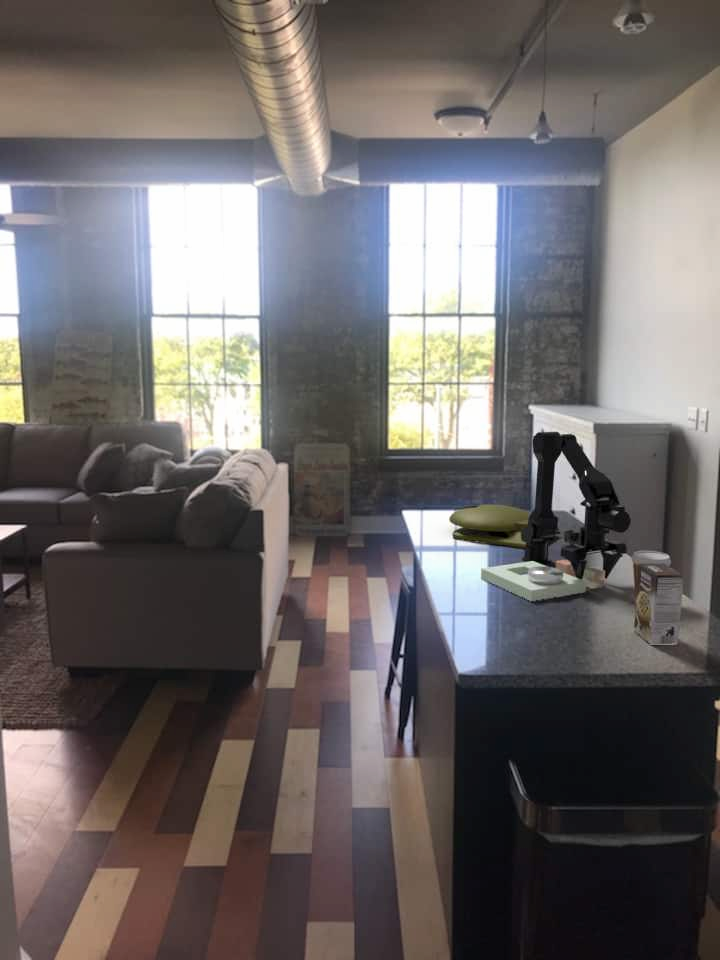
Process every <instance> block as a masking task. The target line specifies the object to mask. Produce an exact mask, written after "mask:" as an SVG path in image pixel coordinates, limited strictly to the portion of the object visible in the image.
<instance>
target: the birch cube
mask: <svg viewBox="0 0 720 960" xmlns="http://www.w3.org/2000/svg"><path fill="white" fill-rule="evenodd" d="M582 580H584V581H586V588H588V587H589V589H598V587H599V588H604V587H605V571H604V570H603V569H601V568H598V567H596V566H590V567H585V571H584V575H583V579H582ZM603 586H604V587H603Z"/></svg>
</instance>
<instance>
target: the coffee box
mask: <svg viewBox="0 0 720 960" xmlns="http://www.w3.org/2000/svg"><path fill="white" fill-rule="evenodd" d="M684 578H685V575H684V574H683V573H681V572H679V571H678V570H676V569H674V568H673V567H671V566H667V565H666V564H664V563H663V564H656V563H641V564H638V575H637V591H636V599H635V609H634V625H633V626H634V627H633V632H634V631H635V632H634V633H635V634H636V635H638V634H639V635H640V636H641V637H640V636H639V635H638V636H639V637H640V638H642V639H643V638H644V639H645V640H646V641H648V642H649V643H650V644H672V643H678V644H679V634H680V633H679V632H680V625H681V624H680V623H681V613H682V600H683V589H684ZM644 639H643V640H644ZM645 640H644V641H645ZM646 641H645V642H646ZM649 643H648V644H649ZM650 644H649V645H650Z"/></svg>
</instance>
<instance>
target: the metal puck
mask: <svg viewBox="0 0 720 960" xmlns="http://www.w3.org/2000/svg"><path fill="white" fill-rule="evenodd" d="M528 581H530V582H532V583H535V584H539V585H558V584H561V583H562V582H563V571H562V570H560V569H557V568H556V567H552V566H547V567H543V566H540V567H532V568H529V569H528Z"/></svg>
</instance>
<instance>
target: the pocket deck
mask: <svg viewBox="0 0 720 960" xmlns="http://www.w3.org/2000/svg"><path fill="white" fill-rule="evenodd" d="M540 566H543V567H548V565H544V564H543V563H540V564H539V563H537V562H534V561H529V562H528V561H523V562H516V563H510V564H504V565H496V566H489V567H483V568H482V567H481V570H480V571H481V572H480V579H481V580H483V581H484V582H487V583H489V582H490V583H489V584H491V583H492V584H491V585H493V584H495V585H494V586H496V585H497V586H496V587H498V586H499V587H498V588H500V587H501V588H500V589H502V588H503V589H502V590H504V589H505V591H507V590H508V591H507V592H509V593H511V592H512V593H511V594H513V593H514V594H513V595H515V594H516V596H517V595H518V597H520V598H522V597H523V598H522V599H524V598H525V599H524V600H526V599H527V601H528V600H529V602H531V601H533V602H537V601H536V600H538V601H543V600H542V599H544V600H549V598H550V599H554V597H556V598H560V597H567V596H572V594H573V595H577V594H578V593H579V594H583V593H586V590H587V589H586V588H587V587H586V581H584V580H581V579H578V578H576V577H573V576H571V575H568V574H565V573H563V582H562V583H561V584H558V585H539V584H535V583H532V582H530V581H528V569H529V568H532V567H540ZM566 595H567V596H566Z"/></svg>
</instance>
